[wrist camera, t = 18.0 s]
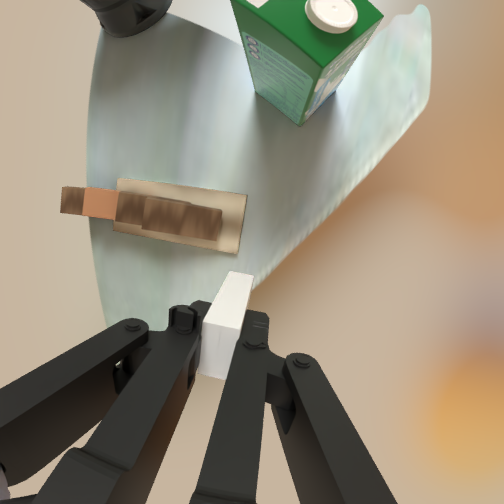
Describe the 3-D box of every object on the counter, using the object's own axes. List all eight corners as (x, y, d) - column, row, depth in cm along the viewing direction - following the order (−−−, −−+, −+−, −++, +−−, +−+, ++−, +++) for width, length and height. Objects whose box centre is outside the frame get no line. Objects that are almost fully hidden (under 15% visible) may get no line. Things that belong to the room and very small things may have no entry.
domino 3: (220, 209, 41) (147, 196, 38) (222, 211, 39) (146, 198, 36) (214, 237, 42) (143, 226, 39) (216, 241, 40) (141, 229, 37)
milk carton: (299, 127, 38) (328, 56, 14) (254, 91, 38) (227, -5, 13) (336, 89, 36) (393, 2, 12) (292, 55, 35) (301, -52, 11)
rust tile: (151, 195, 42) (88, 187, 38) (150, 196, 40) (85, 187, 37) (147, 222, 43) (85, 213, 39) (146, 224, 41) (82, 215, 38)
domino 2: (190, 202, 42) (121, 190, 38) (191, 203, 40) (118, 192, 36) (185, 229, 43) (117, 218, 39) (185, 232, 41) (114, 221, 38)
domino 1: (122, 191, 42) (67, 186, 40) (119, 192, 40) (62, 187, 38) (119, 217, 43) (65, 211, 41) (116, 219, 41) (60, 212, 39)
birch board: (120, 178, 43) (117, 178, 42) (247, 195, 42) (246, 195, 41) (115, 229, 45) (113, 230, 44) (237, 252, 44) (236, 254, 43)
